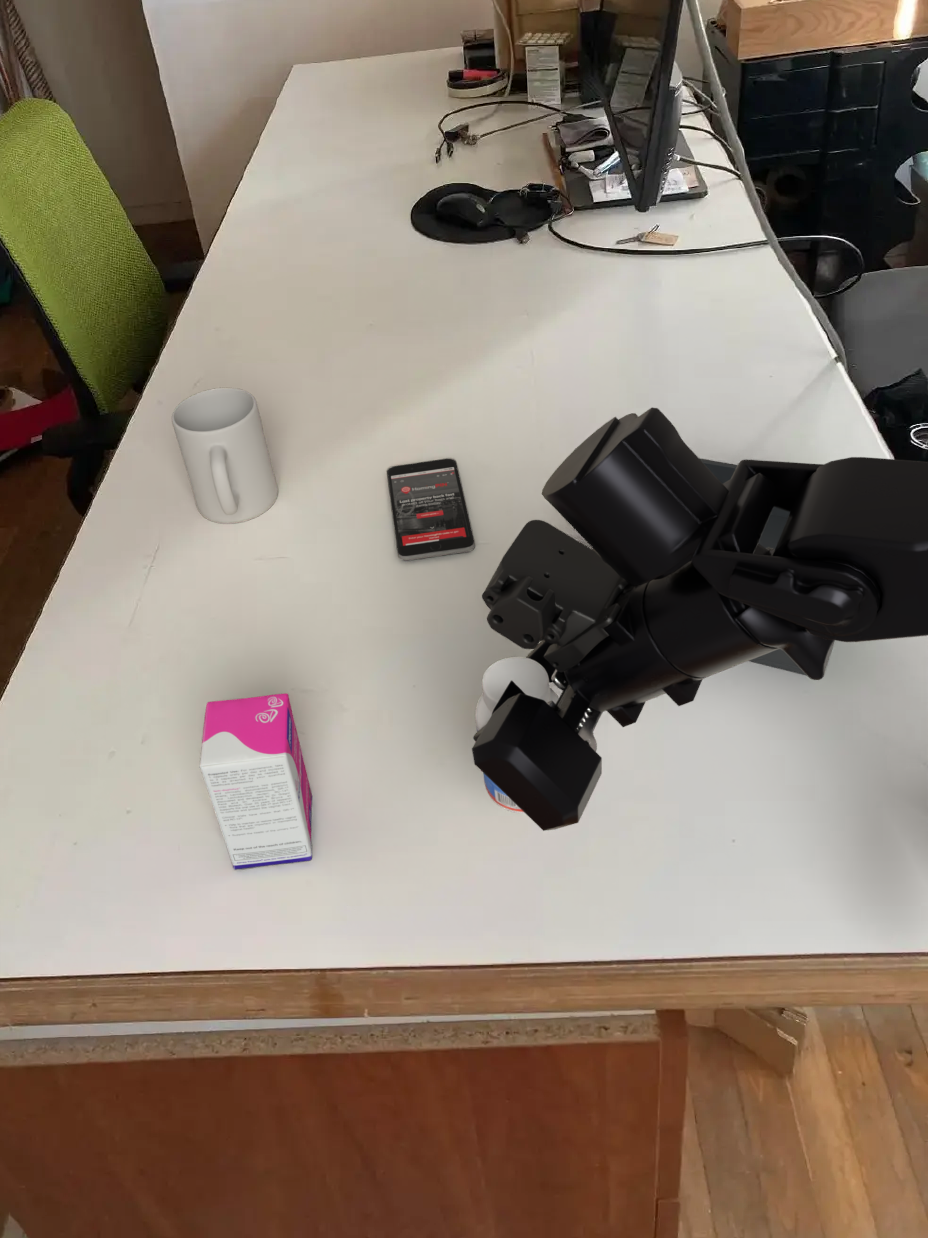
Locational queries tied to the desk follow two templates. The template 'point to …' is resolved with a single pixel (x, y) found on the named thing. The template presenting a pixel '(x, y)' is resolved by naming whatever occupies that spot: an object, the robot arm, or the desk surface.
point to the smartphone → (429, 510)
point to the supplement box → (257, 780)
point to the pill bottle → (493, 685)
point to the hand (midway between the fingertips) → (499, 708)
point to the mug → (225, 454)
